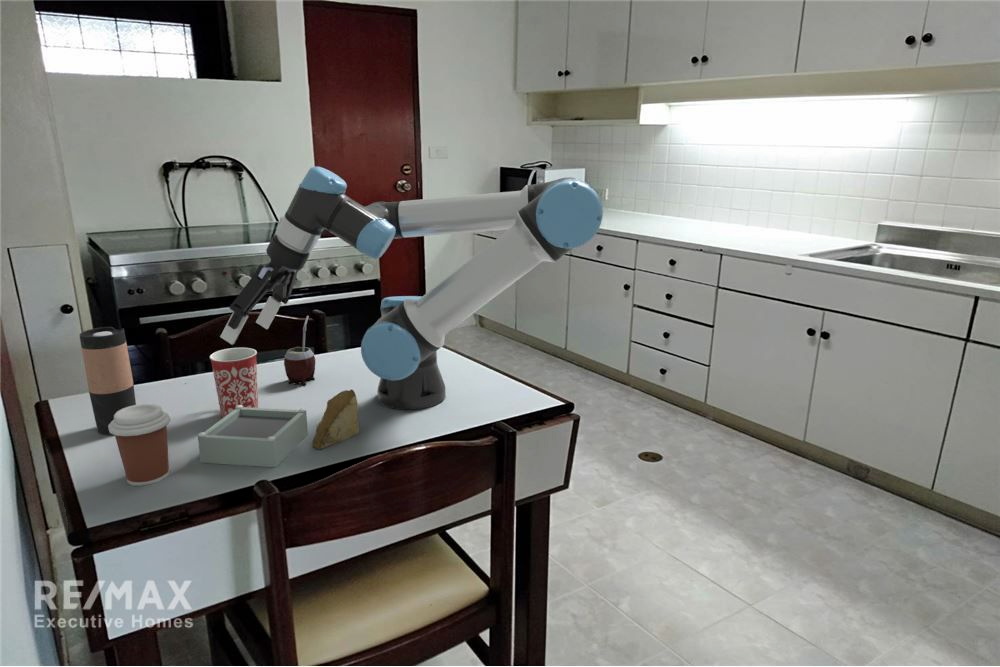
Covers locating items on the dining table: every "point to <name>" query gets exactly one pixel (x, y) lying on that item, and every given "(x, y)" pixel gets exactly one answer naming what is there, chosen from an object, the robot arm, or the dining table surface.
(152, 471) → the coffee cup
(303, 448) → the dining table surface
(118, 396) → the travel mug
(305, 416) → the pale green square tray
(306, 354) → the mate gourd
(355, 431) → the rock
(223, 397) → the mug
